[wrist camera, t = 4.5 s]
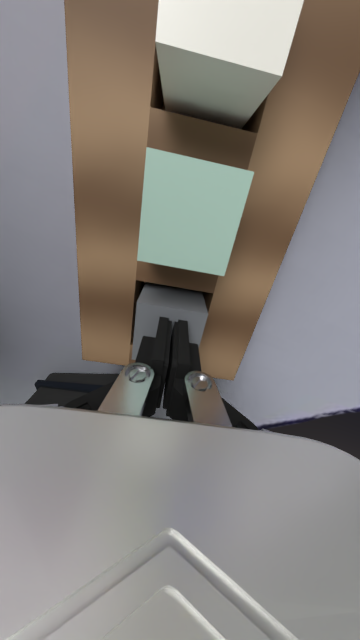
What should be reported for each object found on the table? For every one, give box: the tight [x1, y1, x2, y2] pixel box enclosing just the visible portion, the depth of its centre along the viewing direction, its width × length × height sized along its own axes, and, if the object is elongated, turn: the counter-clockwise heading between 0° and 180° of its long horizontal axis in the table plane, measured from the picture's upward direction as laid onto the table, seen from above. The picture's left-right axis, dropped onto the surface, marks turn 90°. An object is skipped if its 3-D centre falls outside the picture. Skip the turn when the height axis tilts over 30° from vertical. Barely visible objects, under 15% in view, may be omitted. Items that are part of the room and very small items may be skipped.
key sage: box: [137, 147, 254, 276], centre depth 11 cm, size 4×4×5 cm
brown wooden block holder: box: [64, 0, 360, 380], centre depth 14 cm, size 22×12×6 cm, turn 170°
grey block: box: [132, 282, 208, 360], centre depth 15 cm, size 4×4×5 cm
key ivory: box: [155, 0, 304, 129], centre depth 8 cm, size 4×4×5 cm
